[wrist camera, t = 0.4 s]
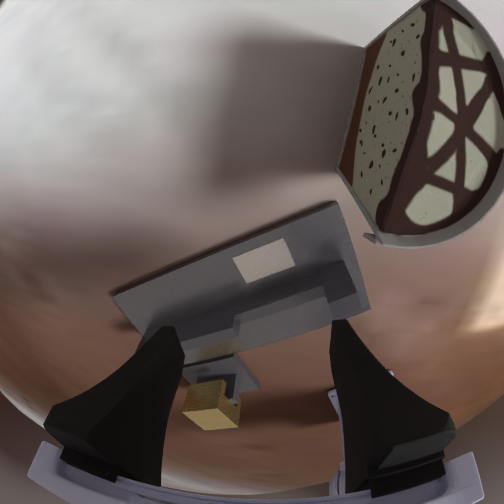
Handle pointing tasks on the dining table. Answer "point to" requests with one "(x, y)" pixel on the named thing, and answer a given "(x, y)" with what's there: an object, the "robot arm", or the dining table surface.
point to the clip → (211, 406)
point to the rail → (254, 288)
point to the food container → (426, 128)
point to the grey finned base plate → (222, 374)
